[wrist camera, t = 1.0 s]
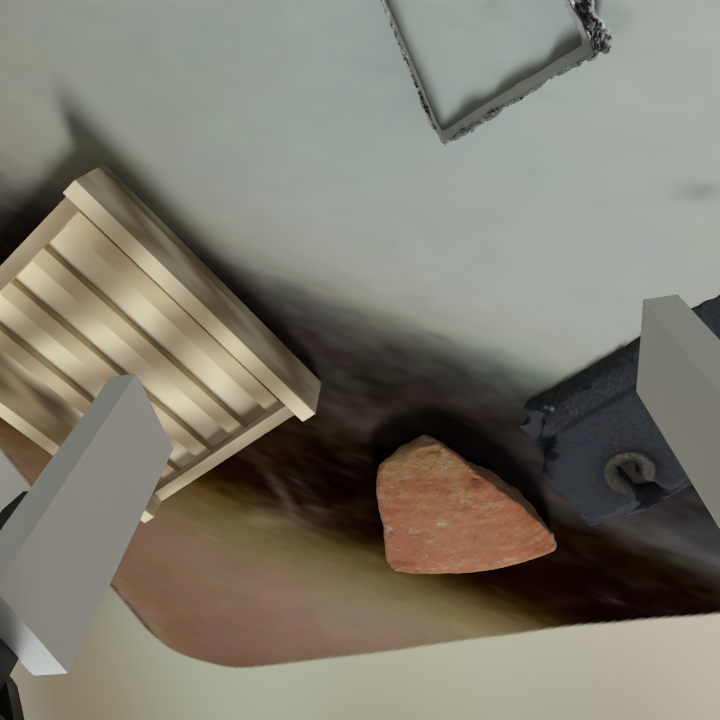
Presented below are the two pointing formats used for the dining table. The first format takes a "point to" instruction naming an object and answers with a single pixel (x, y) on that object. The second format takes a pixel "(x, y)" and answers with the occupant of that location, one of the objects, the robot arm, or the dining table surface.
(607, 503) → the dark block with eyelet
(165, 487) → the drying rack
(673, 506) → the dining table surface
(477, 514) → the ceramic shard
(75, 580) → the robot arm
